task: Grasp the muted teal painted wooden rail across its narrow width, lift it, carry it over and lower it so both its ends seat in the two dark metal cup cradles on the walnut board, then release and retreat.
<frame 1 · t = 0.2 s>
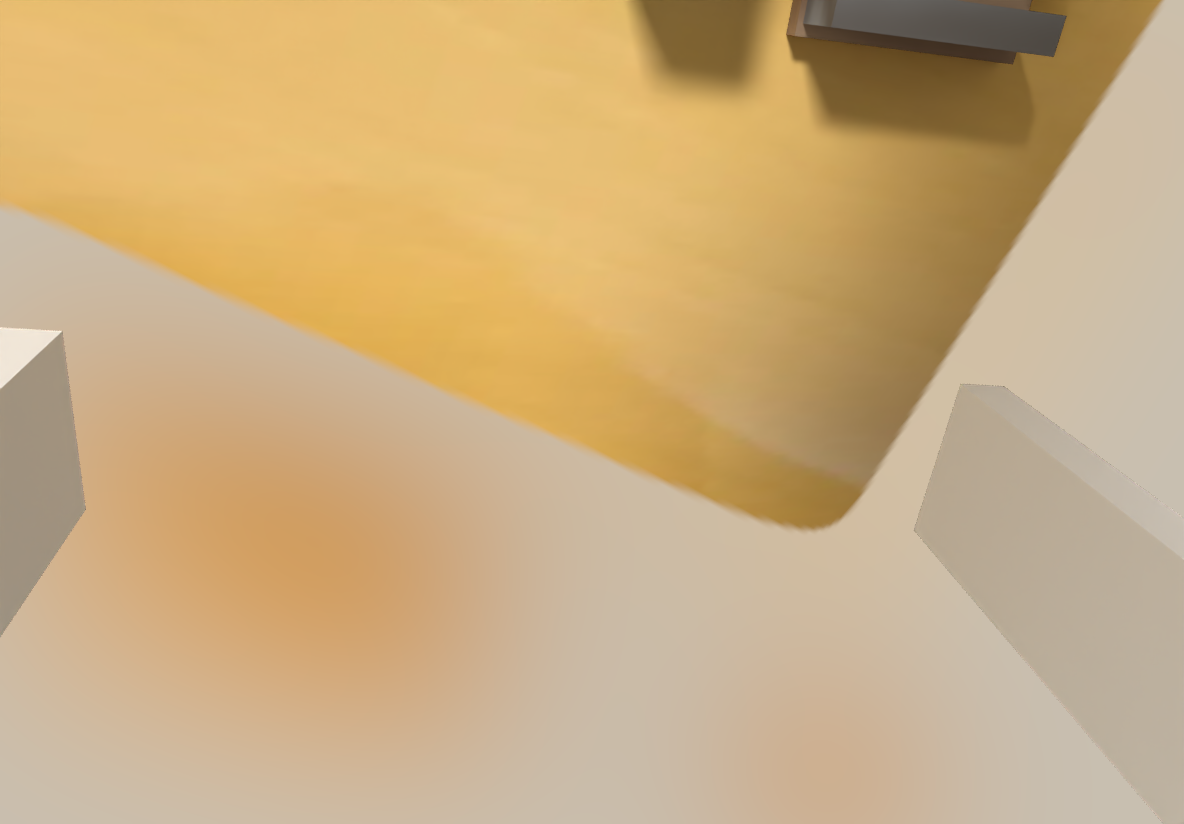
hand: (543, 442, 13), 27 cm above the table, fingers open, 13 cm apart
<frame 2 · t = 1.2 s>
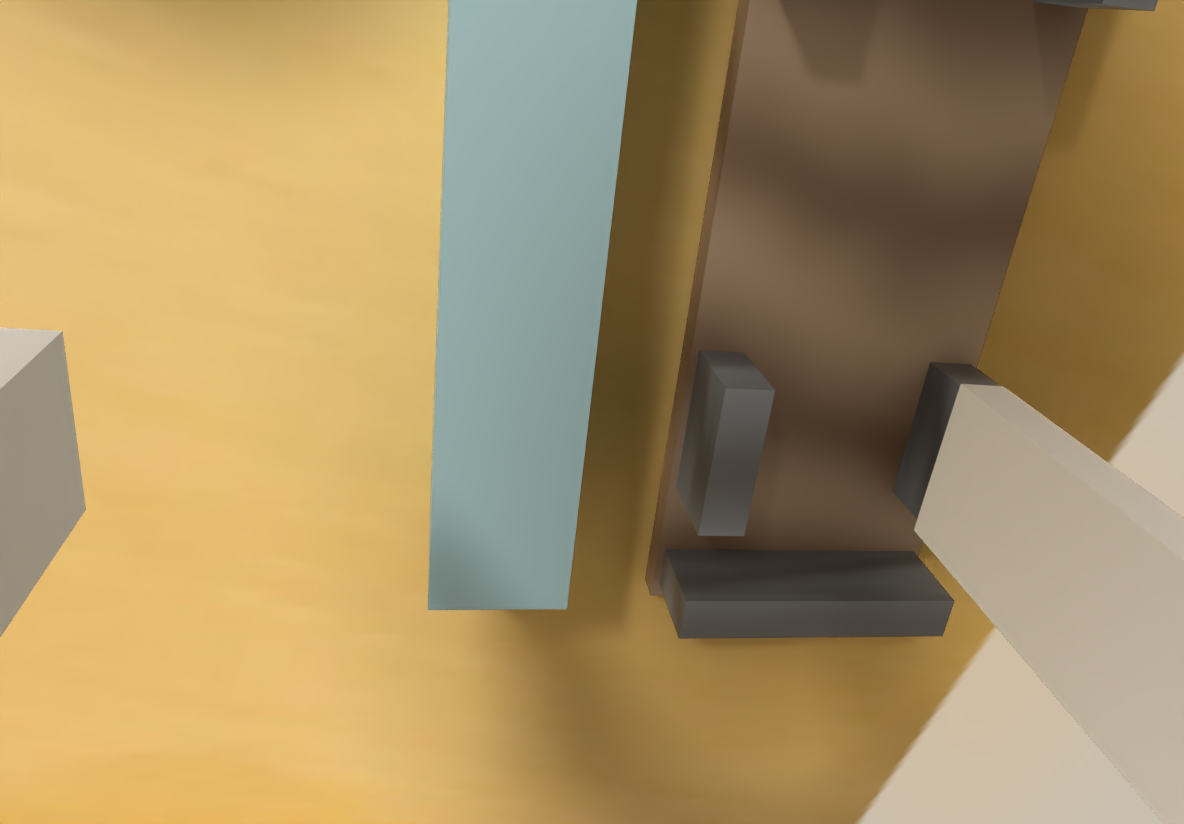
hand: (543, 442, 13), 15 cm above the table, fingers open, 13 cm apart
rail: (510, 182, 27), on the table
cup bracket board: (865, 181, 28), on the table
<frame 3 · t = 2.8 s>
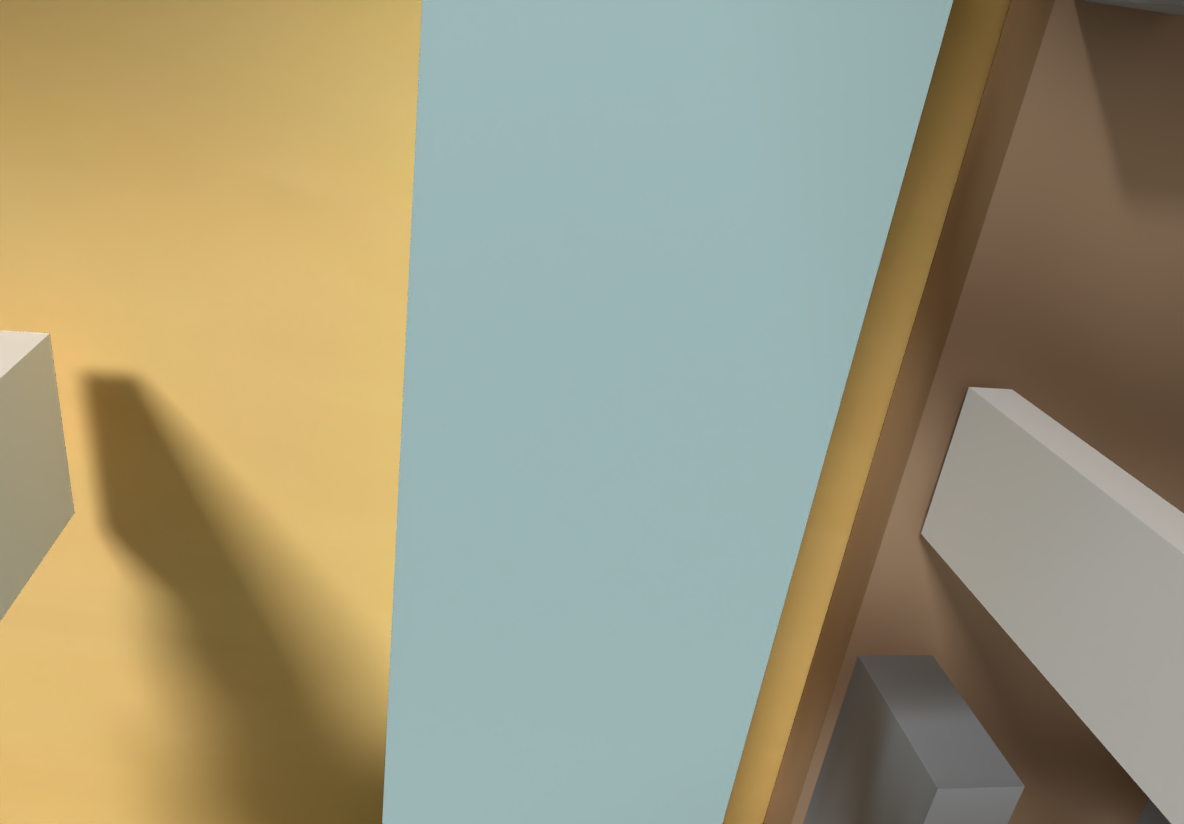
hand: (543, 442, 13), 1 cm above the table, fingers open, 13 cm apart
rail: (538, 382, 14), on the table
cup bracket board: (1163, 373, 16), on the table
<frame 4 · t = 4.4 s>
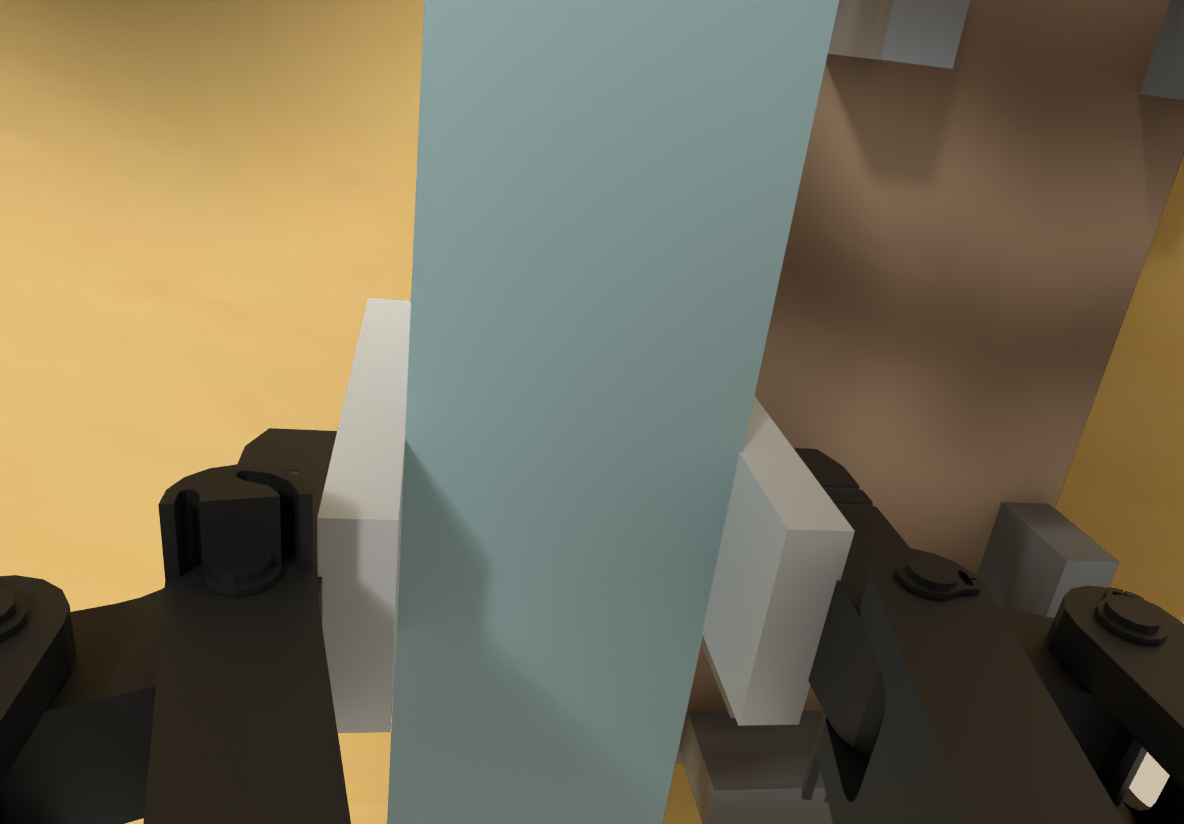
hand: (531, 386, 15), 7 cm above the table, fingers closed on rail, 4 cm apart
rail: (523, 378, 17), point 6 cm above the table, touching gripper
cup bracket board: (930, 296, 24), on the table
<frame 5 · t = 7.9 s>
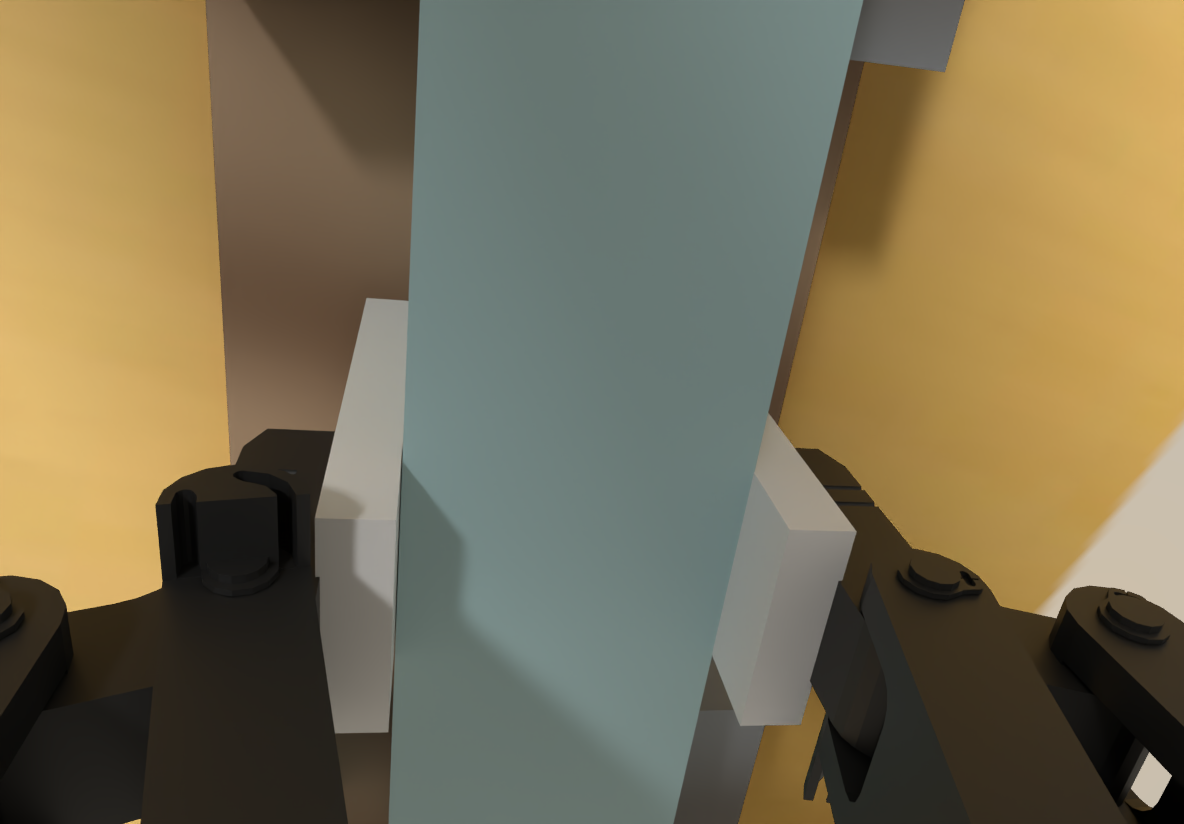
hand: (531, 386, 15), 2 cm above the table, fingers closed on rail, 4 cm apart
rail: (526, 382, 16), point 1 cm above the table, touching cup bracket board, gripper
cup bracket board: (519, 332, 17), on the table
when the fingers open (1 cm above the table, at t = 8.6 s): rail stays where it is, resting on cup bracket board.
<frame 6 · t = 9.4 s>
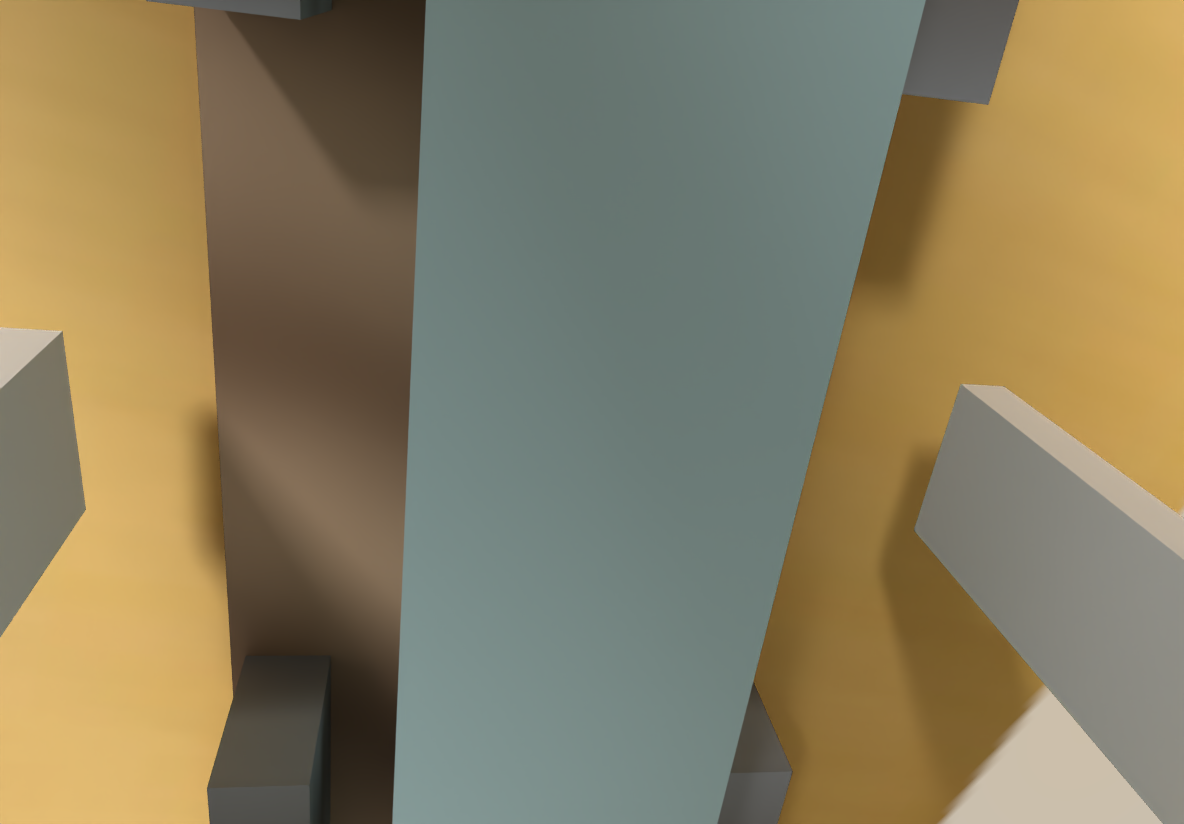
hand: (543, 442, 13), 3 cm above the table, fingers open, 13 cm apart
rail: (534, 425, 15), point 1 cm above the table, touching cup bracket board
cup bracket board: (528, 371, 16), on the table
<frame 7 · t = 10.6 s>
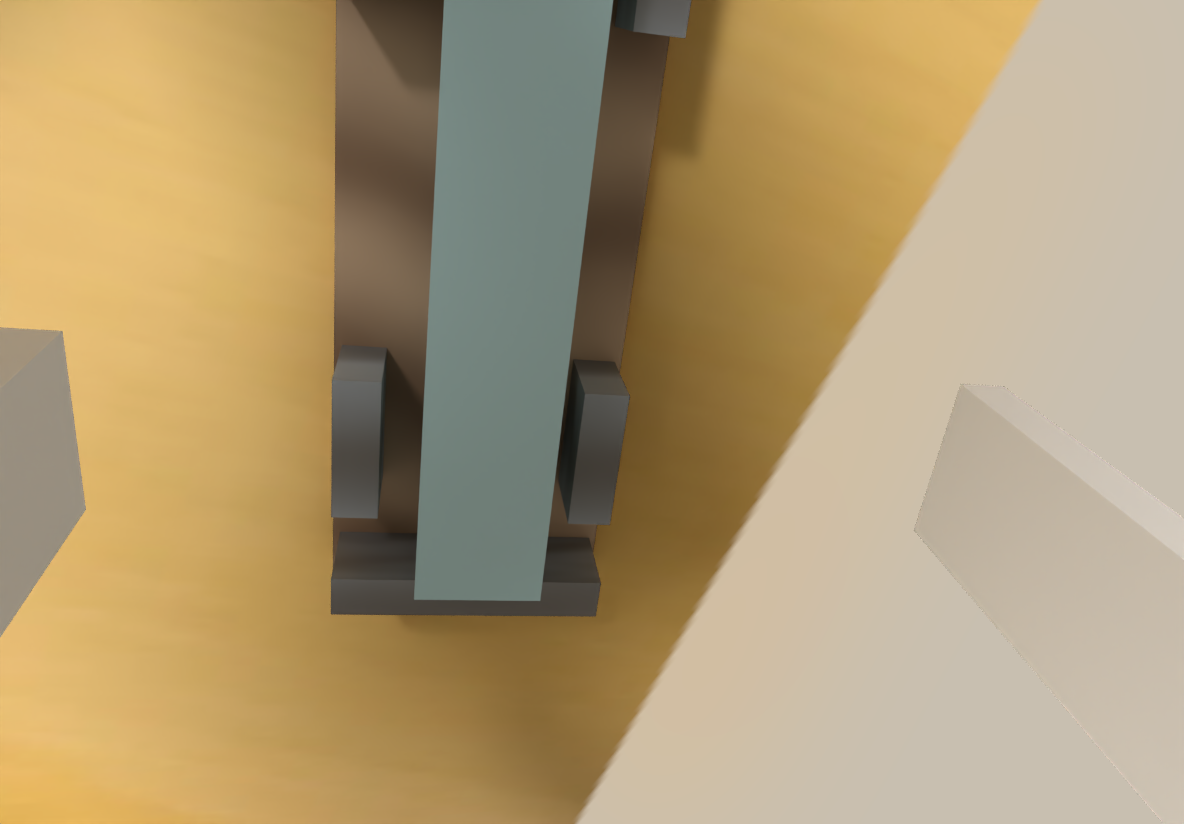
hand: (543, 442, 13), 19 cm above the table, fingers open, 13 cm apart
rail: (495, 213, 29), point 1 cm above the table, touching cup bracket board
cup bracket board: (492, 189, 30), on the table
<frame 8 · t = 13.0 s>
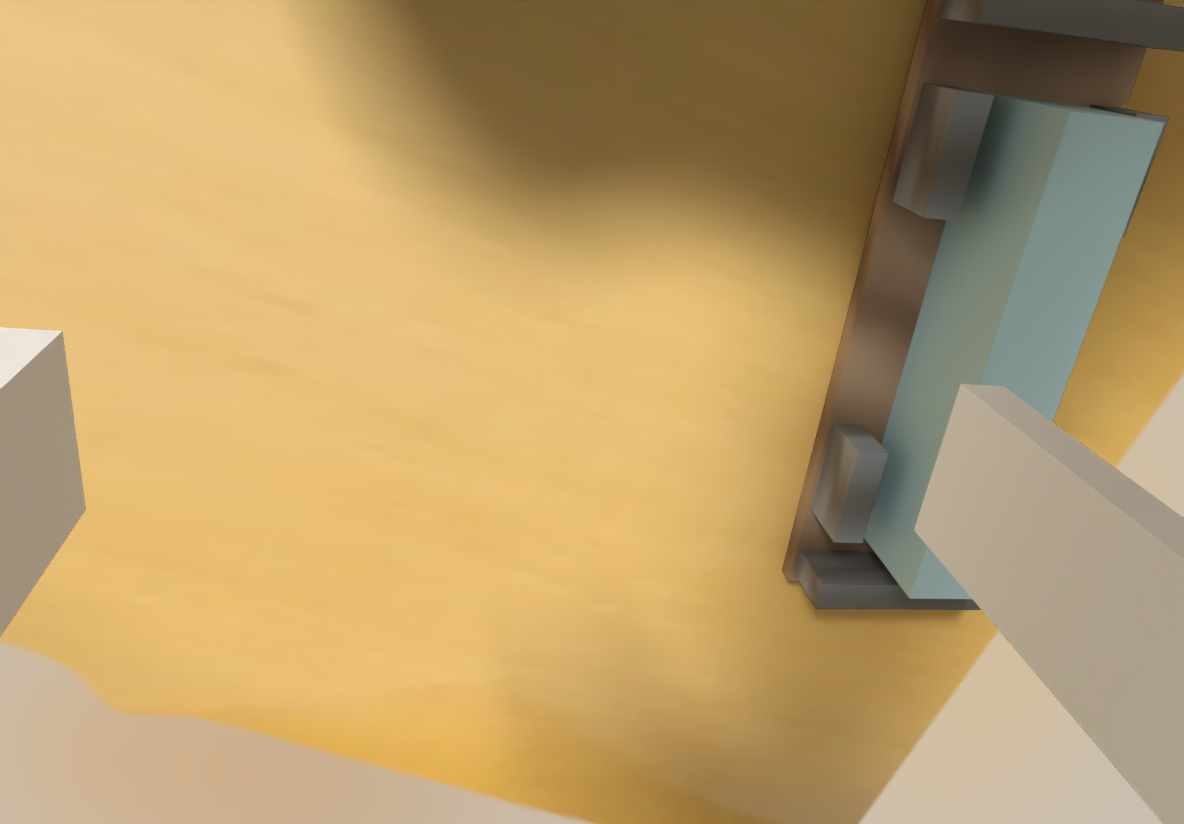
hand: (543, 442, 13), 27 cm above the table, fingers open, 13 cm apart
rail: (951, 336, 43), point 1 cm above the table, touching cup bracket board
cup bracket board: (943, 318, 44), on the table
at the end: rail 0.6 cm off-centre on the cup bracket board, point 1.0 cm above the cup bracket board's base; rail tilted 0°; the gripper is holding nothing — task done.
